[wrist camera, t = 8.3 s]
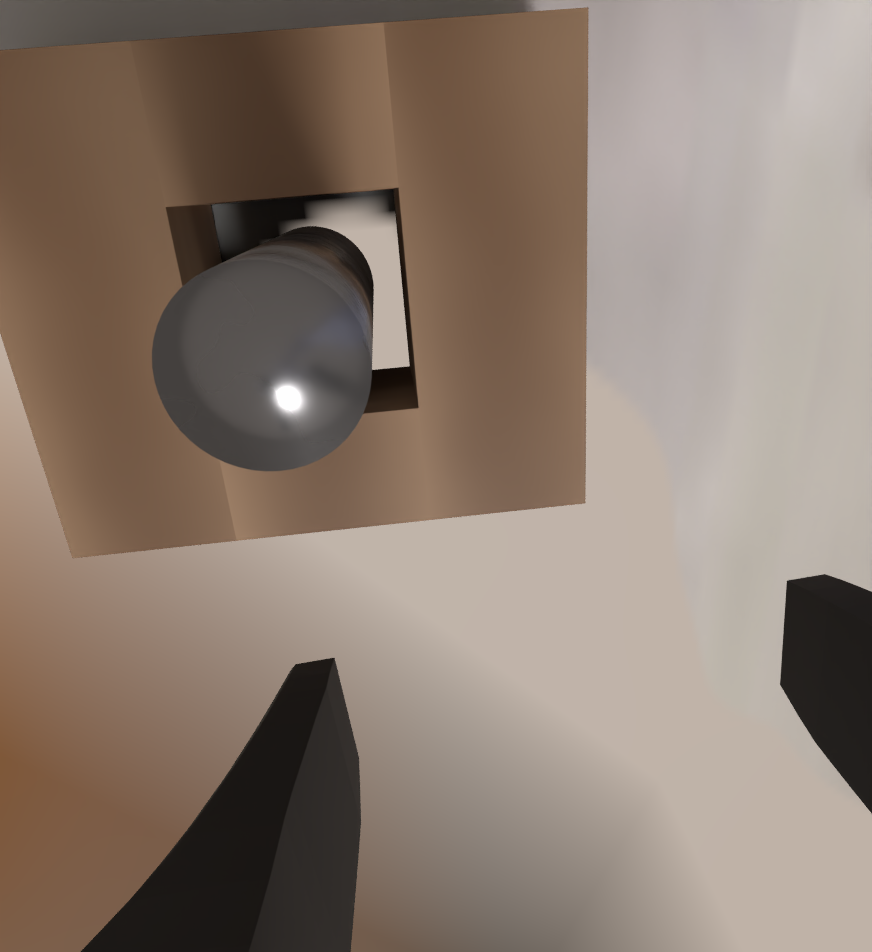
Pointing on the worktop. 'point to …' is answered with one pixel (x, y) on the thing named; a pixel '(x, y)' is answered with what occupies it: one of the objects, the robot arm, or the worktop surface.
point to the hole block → (286, 176)
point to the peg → (270, 351)
